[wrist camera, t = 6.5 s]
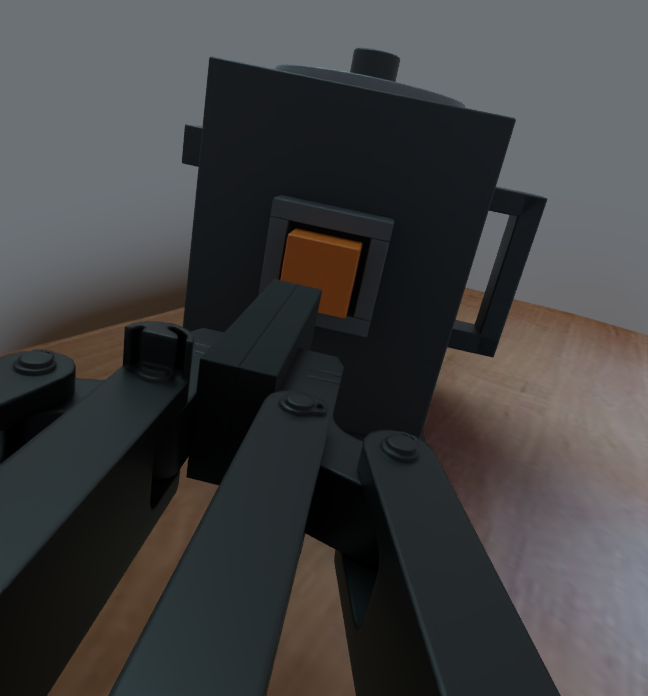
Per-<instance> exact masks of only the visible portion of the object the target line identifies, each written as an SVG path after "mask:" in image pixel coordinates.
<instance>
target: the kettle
mask: <svg viewBox="0 0 648 696" xmlns="http://www.w3.org/2000/svg"><path fill="white" fill-rule="evenodd" d="M399 63H400V58H399V57H397V56H396V55H393V54H390V53H387V52H384V51H379V50H375V49H368V48H357V49H355V50H354V54H353V60H352V65H351V70H350V72H345V71H339V70H332V69H327V68H319V67H312V66H303V65H288V64H286V65H278V66H276V69H271V68H266V67H260V66H256V65H251V64H246V63H241V62H236V61H230V60H226V59H221V58H216V57H210V58H209V67H208V77H207V88H206V98H205V108H204V118H203V127H201V126H194V125H185V132H184V143H183V155H182V163H184V164H188V165H193V166H198V167H199V169H198V179H197V189H196V200H195V210H194V220H193V230H192V240H191V250H190V260H189V271H188V281H187V291H186V302H185V311H184V321H183V327H184V328H185V329H187V330H189V331H190V332H192V331H195V330H198V329H201V328H207V329H211V330H215V331H220V332H225V331H226V330H227V329H228V328H229V327H230V326H231V325H232V324H233V323H234V322H235V321H236V320H237V318H238V317H239V316H240V315H241V314H242V313H243V312H244V311H245V310H246V309H247V308H248V307H249V306H250V305H251V303H252V302H253V301H254V300H255V299H256V298H257V297H258V296H259V295H260V294H261V293H262V292H263V291H264V290H265V289H266V287H267V286H268V285H269V284H270V283H271V282H272V281H273V280H274V279H277V280H281V274H282V268H283V262H284V256H285V250H286V244H287V238H288V234H289V233H291V232H292V231H293V230H294V229H296V228H298V229H303V230H307V231H312V232H317V233H321V234H326V235H330V236H335V237H340V238H344V239H349V240H353V241H358V242H362V244H363V245H362V249H361V254H360V258H359V263H358V267H357V272H356V277H355V281H354V286H353V290H352V295H351V299H350V304H349V308H348V311H347V315H346V318H339V317H335V316H330V315H326V314H321V313H318V314H317V319H316V324H315V329H314V334H313V339H312V344H311V349H310V351H314V352H318V353H322V354H327V355H331V356H335V357H338V358H339V360H340V361H341V363H342V365H343V366H344V369H343V373H342V377H341V382H340V386H339V390H338V395H337V399H336V404H335V408H334V412H333V419H334V421H335V423H336V424H337V425H338V426H339V427H340V429H342V430H343V431H344V432H346V433H347V434H349V435H351V436H352V437H354V438H356V439H358V440H361V441H363V442H364V438H365V437H366V436H367V435H368V434H369V433H371V432H374V431H378V430H394V431H399V432H400V431H402V432H406V433H409V435H413V436H415V437H417V438H418V439H420V440H421V441H423V442H424V443H425V438H424V429H423V425H424V422H425V418H426V415H427V412H428V408H429V405H430V402H431V399H432V395H433V392H434V389H435V385H436V382H437V379H438V375H439V372H440V369H441V366H442V362H443V359H444V356H445V352H446V349H447V347H449V348H453V349H458V350H462V351H466V352H471V353H475V354H480V355H484V356H489V357H494V355H495V352H496V349H497V346H498V343H499V340H500V337H501V334H502V331H503V328H504V325H505V322H506V319H507V316H508V313H509V310H510V307H511V304H512V302H513V299H514V296H515V293H516V290H517V287H518V284H519V281H520V278H521V275H522V272H523V269H524V266H525V263H526V261H527V258H528V255H529V252H530V249H531V246H532V243H533V240H534V237H535V234H536V231H537V228H538V225H539V222H540V219H541V217H542V214H543V211H544V208H545V205H546V202H547V198H544V197H541V196H538V195H534V194H529V193H524V192H520V191H515V190H510V189H505V188H501V187H496V184H497V181H498V178H499V174H500V171H501V168H502V164H503V161H504V158H505V154H506V151H507V148H508V144H509V141H510V138H511V135H512V131H513V128H514V124H515V121H516V120H515V118H511V117H506V116H501V115H497V114H491V113H486V112H482V111H477V110H472V109H467V108H465V105H464V104H463V103H461V102H459V101H457V100H455V99H452V98H450V97H447V96H444V95H441V94H438V93H435V92H432V91H428V90H424V89H421V88H417V87H413V86H410V85H406V84H401V83H397V82H395V81H396V77H397V72H398V67H399ZM488 211H494V212H499V213H503V214H508V215H510V216H509V219H508V222H507V226H506V228H505V232H504V235H503V238H502V241H501V244H500V247H499V250H498V253H497V257H496V260H495V263H494V266H493V269H492V272H491V275H490V279H489V282H488V285H487V288H486V291H485V294H484V297H483V300H482V304H481V307H480V310H479V313H478V316H477V319H476V322H475V324H471V323H467V322H462V321H458V320H455V319H456V316H457V313H458V309H459V306H460V303H461V300H462V296H463V293H464V290H465V286H466V283H467V280H468V276H469V273H470V270H471V267H472V263H473V260H474V257H475V253H476V250H477V246H478V243H479V240H480V237H481V233H482V230H483V227H484V224H485V220H486V217H487V214H488Z"/></svg>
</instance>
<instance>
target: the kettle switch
mask: <svg viewBox="0 0 648 696" xmlns="http://www.w3.org/2000/svg"><path fill="white" fill-rule="evenodd" d="M362 245H363V244H362V242H358V241H353V240H349V239H344V238H340V237H335V236H330V235H326V234H321V233H317V232H312V231H307V230H303V229H298V228H296V229H294V230H293V231H292V232H291V233H289V234H288V238H287V244H286V250H285V256H284V262H283V268H282V274H281V281H286V282H290V283H295V284H299V285H304V286H308V287H313V288H317V289H322V294H321V299H320V304H319V309H318V313H321V314H326V315H330V316H335V317H339V318H346V315H347V311H348V308H349V304H350V299H351V295H352V290H353V286H354V281H355V277H356V272H357V267H358V263H359V258H360V254H361V249H362Z"/></svg>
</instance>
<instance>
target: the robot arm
mask: <svg viewBox="0 0 648 696" xmlns="http://www.w3.org/2000/svg"><path fill="white" fill-rule="evenodd" d="M321 294H322V289H317V288H313V287H308V286H304V285H299V284H295V283H290V282H286V281H281V280H277V279H274V280H273V281H272V282H271V283H270V284H269V285H268V286H267V287H266V289H265V290H264V291H263V292H262V293H261V294H260V295H259V296H258V297H257V298H256V299H255V300H254V301H253V302H252V303H251V305H250V306H249V307H248V308H247V309H246V310H245V311H244V312H243V313H242V314H241V315H240V316H239V317H238V318H237V320H236V321H235V322H234V323H233V324H232V325H231V326H230V327H229V328H228V329H227V330H226V331H225V332H220V331H215V330H211V329H207V328H201V329H198V330H195V331H192V332H190V331H189V330H187V329H185V328H184V327H181V326H178V325H175V324H171V323H164V322H139V323H133V324H131V325H128V326H126V327H125V336H124V354H123V366H122V367H121V368H120V369H119V370H117V371H116V372H115V373H114V374H112V375H111V376H110V377H109V378H107V379H106V380H95V379H80V378H75V372H76V365H75V363H74V361H73V360H72V359H70V358H69V357H67V356H65V355H63V354H59V353H55V352H53V351H48V350H45V351H43V350H32V351H24V352H18V353H14V354H10V355H6V356H3V357H1V358H0V696H47V695H48V693H49V692H50V690H51V688H52V687H53V685H54V684H55V682H56V681H57V679H58V677H59V676H60V674H61V673H62V671H63V670H64V668H65V666H66V665H67V663H68V662H69V660H70V658H71V657H72V655H73V654H74V652H75V651H76V649H77V647H78V646H79V644H80V643H81V641H82V640H83V638H84V636H85V635H86V633H87V632H88V630H89V629H90V627H91V625H92V624H93V622H94V621H95V619H96V618H97V616H98V614H99V613H100V611H101V610H102V608H103V607H104V605H105V603H106V602H107V600H108V599H109V597H110V595H111V594H112V592H113V591H114V589H115V588H116V586H117V584H118V583H119V581H120V580H121V578H122V577H123V575H124V573H125V572H126V570H127V569H128V567H129V566H130V564H131V562H132V561H133V559H134V558H135V556H136V555H137V553H138V551H139V550H140V548H141V547H142V545H143V544H144V542H145V540H146V539H147V537H148V536H149V534H150V532H151V531H152V529H153V528H154V526H155V525H156V523H157V521H158V520H159V518H160V517H161V515H162V514H163V512H164V510H165V509H166V507H167V506H168V504H169V503H170V501H171V499H172V498H173V496H174V495H175V493H176V491H177V488H178V485H179V476H180V468H181V467H182V465H183V464H184V462H185V461H186V459H187V458H188V456H189V459H188V467H187V476H186V477H187V478H192V479H196V480H200V481H204V482H208V483H212V484H216V485H219V487H218V489H217V491H216V493H215V495H214V497H213V499H212V500H211V502H210V504H209V506H208V508H207V510H206V512H205V514H204V516H203V517H202V519H201V521H200V523H199V525H198V527H197V529H196V531H195V533H194V534H193V536H192V538H191V540H190V542H189V544H188V546H187V548H186V550H185V551H184V553H183V555H182V557H181V559H180V561H179V563H178V565H177V567H176V568H175V570H174V572H173V574H172V576H171V578H170V580H169V582H168V584H167V585H166V587H165V589H164V591H163V593H162V595H161V597H160V599H159V601H158V602H157V604H156V606H155V608H154V610H153V612H152V614H151V616H150V618H149V620H148V621H147V623H146V625H145V627H144V629H143V631H142V633H141V635H140V637H139V638H138V640H137V642H136V644H135V646H134V648H133V650H132V652H131V654H130V655H129V657H128V659H127V661H126V663H125V665H124V667H123V669H122V671H121V672H120V674H119V676H118V678H117V680H116V682H115V684H114V686H113V688H112V689H111V691H110V693H109V695H108V696H266V695H267V690H268V686H269V682H270V678H271V674H272V670H273V665H274V661H275V657H276V653H277V649H278V645H279V640H280V636H281V632H282V628H283V624H284V620H285V615H286V611H287V607H288V603H289V599H290V594H291V590H292V586H293V582H294V578H295V574H296V569H297V565H298V561H299V557H300V554H301V550H302V546H303V541H304V537H305V533H306V534H308V535H310V536H311V537H313V538H315V539H317V540H319V541H321V542H323V543H325V544H326V545H328V546H330V547H332V548H334V549H336V550H335V558H334V563H335V569H336V575H337V581H338V588H339V594H340V600H341V606H342V612H343V618H344V625H345V631H346V637H347V643H348V649H349V655H350V662H351V668H352V674H353V680H354V686H355V692H356V696H560V694H559V692H558V690H557V688H556V686H555V684H554V682H553V680H552V678H551V676H550V674H549V672H548V670H547V669H546V667H545V665H544V663H543V661H542V659H541V657H540V655H539V653H538V651H537V649H536V647H535V645H534V643H533V642H532V640H531V638H530V636H529V634H528V632H527V630H526V628H525V626H524V624H523V622H522V620H521V618H520V616H519V614H518V613H517V611H516V609H515V607H514V605H513V603H512V601H511V599H510V597H509V595H508V593H507V591H506V589H505V587H504V586H503V584H502V582H501V580H500V578H499V576H498V574H497V572H496V570H495V568H494V566H493V564H492V562H491V560H490V559H489V557H488V555H487V553H486V551H485V549H484V547H483V545H482V543H481V541H480V539H479V537H478V535H477V533H476V532H475V530H474V528H473V526H472V524H471V522H470V520H469V518H468V516H467V514H466V512H465V510H464V508H463V506H462V504H461V503H460V501H459V499H458V497H457V495H456V493H455V491H454V489H453V487H452V485H451V483H450V481H449V479H448V477H447V476H446V474H445V472H444V470H443V468H442V466H441V464H440V462H439V460H438V458H437V456H436V454H435V453H434V452H433V450H432V449H431V448H430V447H429V446H428V445H427V444H426V443H424V442H423V441H421V440H420V439H418V438H417V437H415V436H413V435H409V433H406V432H402V431H400V432H399V431H394V430H378V431H374V432H371V433H369V434H368V435H367V436H366V437H365V438H364V442H363V441H361V440H358V439H356V438H354V437H352V436H351V435H349V434H347V433H346V432H344V431H343V430H342V429H340V427H339V426H338V425H337V424H336V423H335V421H334V419H333V412H334V408H335V404H336V399H337V395H338V390H339V386H340V382H341V377H342V373H343V369H344V366H343V365H342V363H341V361H340V360H339V358H338V357H335V356H331V355H327V354H322V353H318V352H314V351H310V349H311V344H312V339H313V334H314V329H315V324H316V319H317V314H318V309H319V304H320V299H321Z"/></svg>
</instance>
